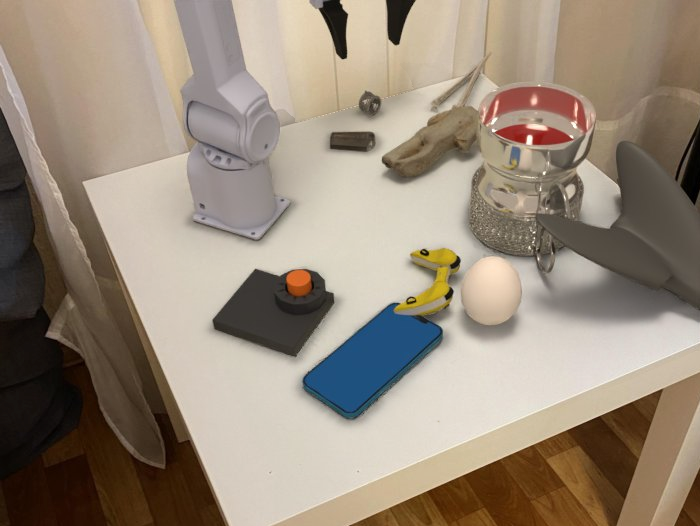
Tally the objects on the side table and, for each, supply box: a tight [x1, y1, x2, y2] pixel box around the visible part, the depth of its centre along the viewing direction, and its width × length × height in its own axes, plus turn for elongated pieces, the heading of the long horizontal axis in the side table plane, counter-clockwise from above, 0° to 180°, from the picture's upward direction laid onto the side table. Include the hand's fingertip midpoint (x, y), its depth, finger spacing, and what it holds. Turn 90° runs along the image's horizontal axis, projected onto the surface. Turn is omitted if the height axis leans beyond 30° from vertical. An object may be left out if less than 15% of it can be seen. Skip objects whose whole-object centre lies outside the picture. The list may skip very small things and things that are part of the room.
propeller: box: [536, 140, 700, 311], centre depth 90 cm, size 23×25×9 cm
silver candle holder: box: [468, 80, 597, 275], centre depth 95 cm, size 13×18×15 cm
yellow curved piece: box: [394, 247, 462, 317], centre depth 94 cm, size 10×4×10 cm
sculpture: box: [381, 105, 478, 178], centre depth 110 cm, size 7×5×15 cm
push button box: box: [211, 268, 335, 357], centre depth 92 cm, size 10×10×3 cm
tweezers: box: [430, 51, 492, 110], centre depth 122 cm, size 17×5×2 cm, turn 154°
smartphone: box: [301, 302, 444, 419], centre depth 87 cm, size 7×1×15 cm
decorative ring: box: [358, 90, 382, 117], centre depth 117 cm, size 3×2×3 cm
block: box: [329, 131, 376, 153], centre depth 113 cm, size 4×6×2 cm, turn 87°
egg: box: [460, 255, 523, 326], centre depth 89 cm, size 6×6×8 cm
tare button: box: [286, 269, 312, 296], centre depth 91 cm, size 3×3×2 cm
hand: (367, 48), depth 111 cm, fingers open, 7 cm apart
